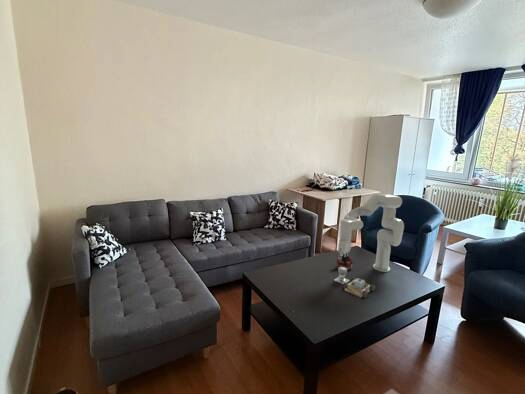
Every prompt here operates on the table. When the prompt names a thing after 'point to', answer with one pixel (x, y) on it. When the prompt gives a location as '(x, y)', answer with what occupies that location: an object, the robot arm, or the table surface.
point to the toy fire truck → (344, 264)
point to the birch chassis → (357, 291)
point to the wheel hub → (342, 270)
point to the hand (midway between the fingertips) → (344, 261)
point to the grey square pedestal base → (341, 279)
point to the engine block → (359, 283)
